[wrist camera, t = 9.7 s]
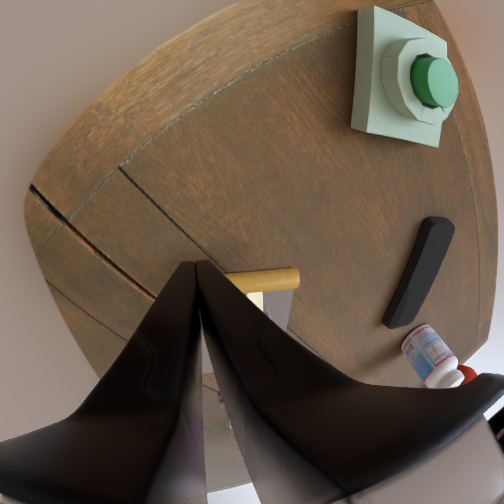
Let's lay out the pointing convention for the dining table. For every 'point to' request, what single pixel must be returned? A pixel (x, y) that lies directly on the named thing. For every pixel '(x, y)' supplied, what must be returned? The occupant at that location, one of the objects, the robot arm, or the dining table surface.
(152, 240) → the dining table surface
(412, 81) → the button
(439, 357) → the pill bottle
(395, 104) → the push button base
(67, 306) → the dining table surface
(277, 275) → the latch lever
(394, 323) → the remote control
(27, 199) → the dining table surface
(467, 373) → the apple
